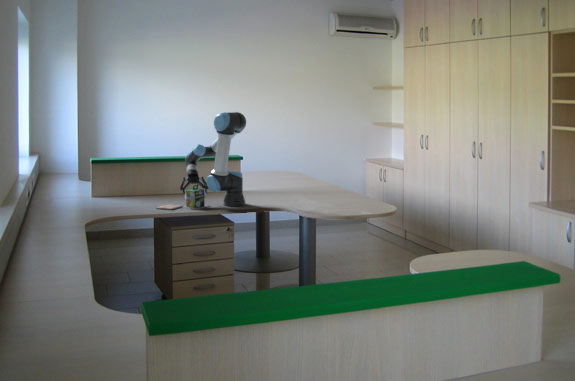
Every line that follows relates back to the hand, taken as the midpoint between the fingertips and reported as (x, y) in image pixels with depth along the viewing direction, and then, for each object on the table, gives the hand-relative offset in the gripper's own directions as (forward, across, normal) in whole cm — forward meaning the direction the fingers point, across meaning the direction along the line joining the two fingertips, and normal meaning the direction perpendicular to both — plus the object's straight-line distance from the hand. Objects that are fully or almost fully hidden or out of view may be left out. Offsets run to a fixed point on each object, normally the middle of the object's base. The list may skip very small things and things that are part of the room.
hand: (195, 197), depth 428 cm
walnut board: (+2, +17, -8) cm, 19 cm away
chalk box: (+3, 0, -6) cm, 7 cm away
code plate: (+3, 0, -7) cm, 7 cm away
